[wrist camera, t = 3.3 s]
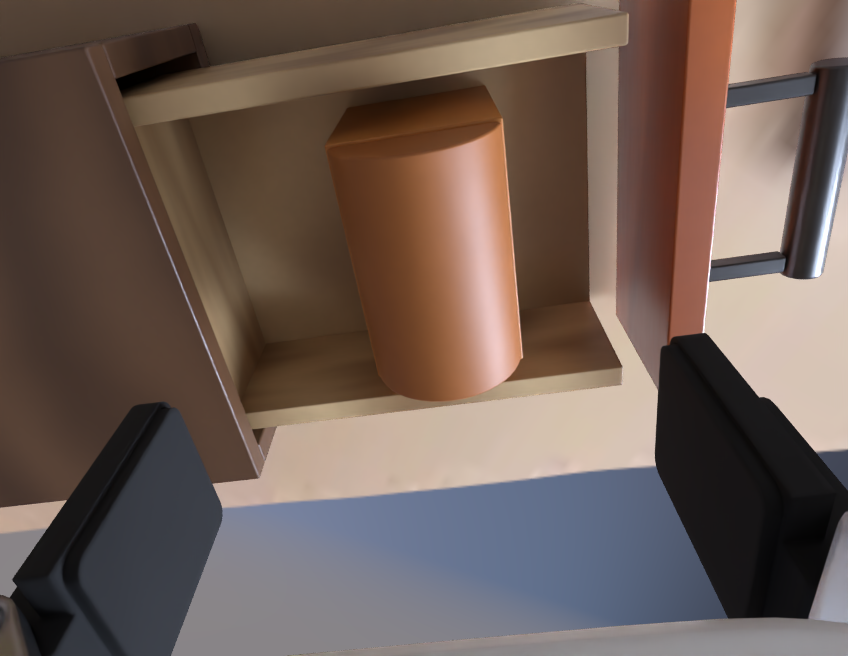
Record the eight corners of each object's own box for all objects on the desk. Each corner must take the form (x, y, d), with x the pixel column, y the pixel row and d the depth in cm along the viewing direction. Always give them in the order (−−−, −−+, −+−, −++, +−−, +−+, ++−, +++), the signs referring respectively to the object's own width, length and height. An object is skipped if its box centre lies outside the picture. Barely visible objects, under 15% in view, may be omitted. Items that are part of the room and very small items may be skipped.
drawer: (807, -66, 20) (955, -81, 14) (754, 297, 26) (841, 381, 21) (156, 49, 21) (63, 75, 16) (265, 360, 28) (226, 453, 23)
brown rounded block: (485, 84, 21) (511, 133, 14) (504, 286, 25) (532, 395, 19) (346, 107, 21) (311, 165, 15) (387, 302, 25) (374, 414, 19)
